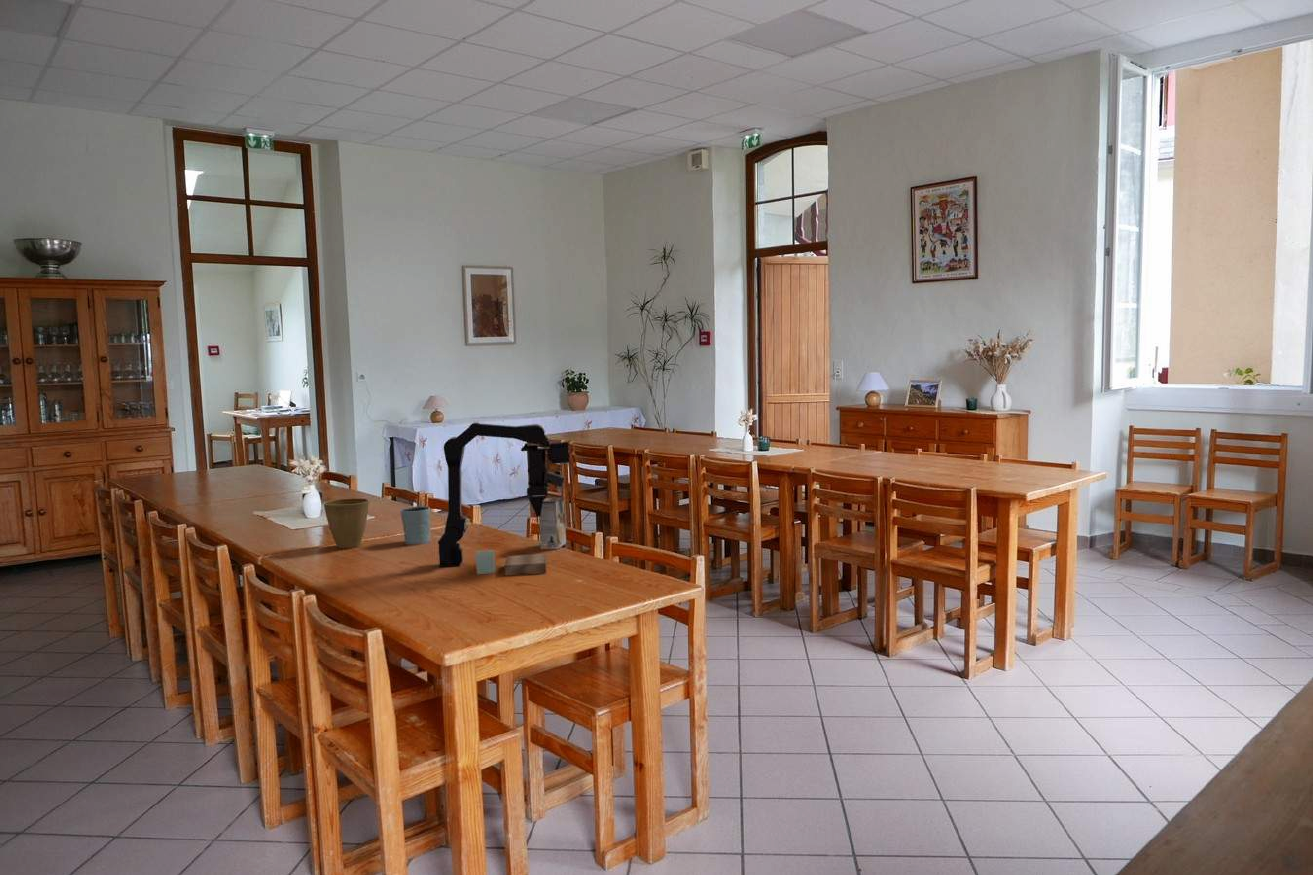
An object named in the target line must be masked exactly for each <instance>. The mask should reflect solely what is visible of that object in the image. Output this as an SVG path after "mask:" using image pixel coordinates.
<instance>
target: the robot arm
mask: <svg viewBox="0 0 1313 875" xmlns="http://www.w3.org/2000/svg"><path fill="white" fill-rule="evenodd" d="M478 436H480V437H492V438H503V439H514V440H519V441H521V442H525V443H524V445H523V447H521V448H520V451H521V452H526V454H527V455H526V458H527V459H526V460H527V476H528V477H527V478H528V480H527V481H528V482H527V484H528V487H527V488H526V495H527V498H528V500H529V502H530V505H531V506H532V509H533V510H534V512H535V516H536V517H538V518H539V517H540V516H541V510H542V503H543V500H544V499H545V498H548V492H549V491H548V490H549V484H550V485H553V486H557V487H558V488H563V485H564V481H565V479H566V477H565V476H564V475H563V474H562V472H561V470H558V469H556V470H555V471H553V472H551V471H548V467H547V461H548V462H550V463H551V464H552V465H560V464H561V465H562V464H570V451H569V442H568V441H561V442H552V441H550V440H551V439H549V438H548V436H546V431H545V429H544V428H543V426H542V425H540V424H539V423H533V424H524V425H516V426H515V425H503V424H490V423H480V422H478V421H477V422H472V423H470V425H469V426H468V427H467V429H465V430H464V431H463V432H461V433H460V434H459V435H458V436H453V437H450V438H448V439H447V441H446V442H445V443H444V445H443V453H444V457H445V462H446V465H447V472H448V473H447V478H448V479H447V482H448V484H447V486H448V487H447V490H448V501H447V502H448V504H447V505H448V512H447V517H446V521H445V526H444V533H443V534H442V535H441V536H440V538H439V539H438V541H437V544H438V558H439V559H438V560H439V564H438V567H440V568H442V567H459V566H461V564H462V563H463V560H464V559H463V558H464V555H463V548H462V547H461V543H460V542H459V541H461V539H462V538H463V537H464V534H465V533H466V532H467V530H468V528H469V527H468V524H467V523H468V515H463V511H462V464H463V460H464V454H465V450H466V449H465V448H466V445H468V444H469V443H470V442H471V441H473V439H474V438H476V437H478ZM539 446H542V447H539ZM546 451H547V455H546ZM546 456H547V457H546Z"/></svg>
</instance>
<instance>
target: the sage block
mask: <svg viewBox="0 0 1313 875" xmlns="http://www.w3.org/2000/svg"><path fill="white" fill-rule="evenodd" d="M495 557H496V556H495V550H494V549H490V550H489V549H488V550H477V551H476V554H475V558H476V560H475V561H476V575H486V574H487V575H488V574H495V572H496V558H495Z"/></svg>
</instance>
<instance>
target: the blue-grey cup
mask: <svg viewBox="0 0 1313 875" xmlns="http://www.w3.org/2000/svg"><path fill="white" fill-rule="evenodd" d="M400 517H401V521H402V526H403V533H404V534H403V536H404V542H405V544H406V545H410V546H416V545H424V544H428V543H430V542H431V531H430V530H431V523H430V522H431V507H430V506H411V507H410V506H409V507H405V508H402V509H400Z"/></svg>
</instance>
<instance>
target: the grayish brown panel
mask: <svg viewBox="0 0 1313 875" xmlns="http://www.w3.org/2000/svg"><path fill="white" fill-rule="evenodd" d="M547 563H548V562H547V553H538V554H522V555H521V554H520V555H519V554H518V555H507V556H506V559H505V563H504V576H517V575H534V574H536V575H537V574H546V573H547Z"/></svg>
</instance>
